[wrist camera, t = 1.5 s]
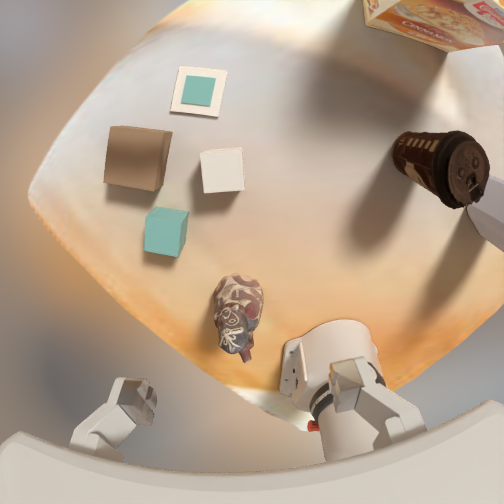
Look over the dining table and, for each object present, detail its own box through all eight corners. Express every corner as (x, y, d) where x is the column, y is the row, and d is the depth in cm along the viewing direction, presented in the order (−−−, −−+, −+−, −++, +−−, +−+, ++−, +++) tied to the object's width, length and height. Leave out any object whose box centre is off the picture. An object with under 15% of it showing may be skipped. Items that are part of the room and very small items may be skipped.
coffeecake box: (364, 26, 24) (450, -27, 6) (359, -12, 21) (429, -75, 3) (449, 54, 24) (543, 45, 7) (443, 18, 21) (528, -4, 3)
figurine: (250, 265, 39) (250, 320, 28) (270, 302, 42) (277, 360, 31) (206, 284, 40) (193, 340, 29) (229, 318, 43) (224, 376, 32)
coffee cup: (426, 188, 34) (483, 219, 22) (380, 179, 34) (435, 209, 22) (435, 132, 30) (497, 145, 18) (388, 118, 30) (449, 122, 18)
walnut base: (163, 184, 34) (153, 191, 30) (116, 176, 33) (103, 182, 30) (173, 131, 31) (163, 132, 27) (124, 125, 30) (110, 126, 27)
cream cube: (245, 182, 34) (244, 190, 30) (209, 185, 34) (204, 193, 30) (242, 146, 32) (241, 149, 28) (206, 150, 32) (199, 153, 28)
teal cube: (185, 242, 37) (178, 257, 33) (154, 236, 37) (144, 250, 33) (188, 211, 35) (181, 223, 31) (156, 206, 35) (145, 217, 31)
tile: (218, 116, 30) (217, 116, 30) (171, 111, 30) (169, 110, 29) (228, 71, 28) (227, 70, 27) (180, 66, 27) (179, 65, 26)
